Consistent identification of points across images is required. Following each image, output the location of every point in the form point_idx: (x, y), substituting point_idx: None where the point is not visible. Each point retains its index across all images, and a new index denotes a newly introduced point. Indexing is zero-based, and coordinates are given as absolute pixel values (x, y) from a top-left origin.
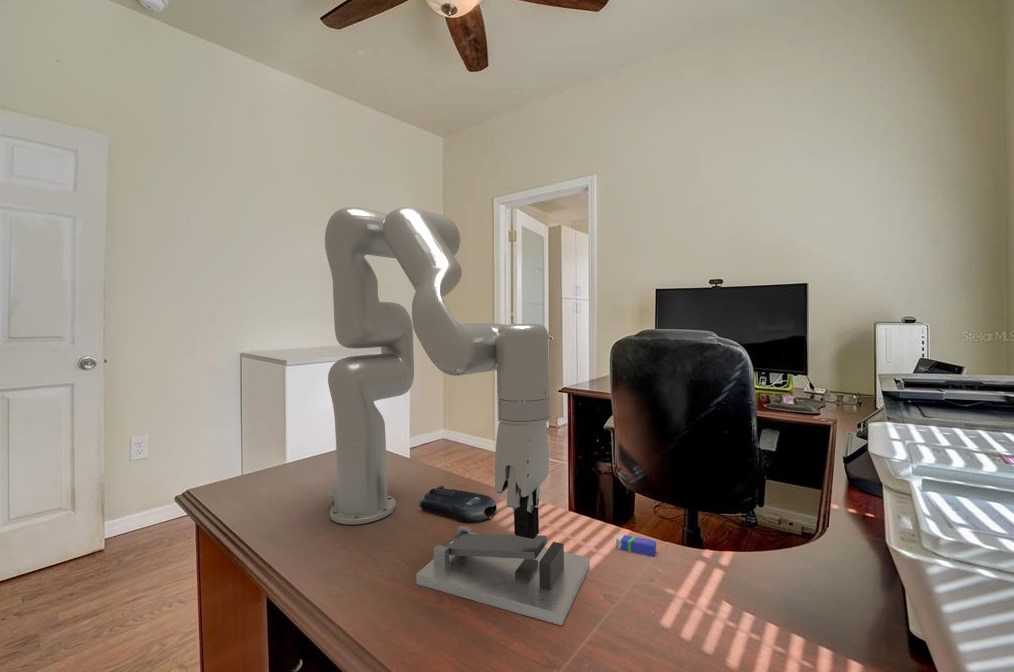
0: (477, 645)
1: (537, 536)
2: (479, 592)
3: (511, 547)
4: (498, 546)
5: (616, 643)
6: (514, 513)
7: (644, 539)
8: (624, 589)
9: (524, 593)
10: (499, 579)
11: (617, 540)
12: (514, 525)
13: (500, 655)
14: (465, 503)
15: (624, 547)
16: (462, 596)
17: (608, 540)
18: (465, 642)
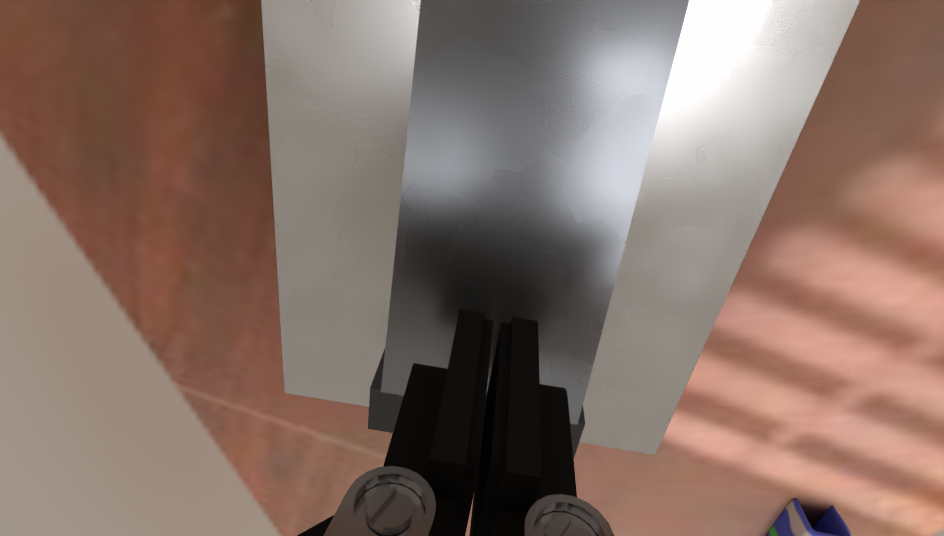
0: (81, 141)
1: (573, 378)
2: (268, 71)
3: (442, 250)
4: (459, 154)
5: (299, 475)
6: (438, 421)
7: None
8: None
9: (335, 270)
10: (392, 141)
11: (805, 532)
12: (454, 345)
13: (94, 226)
14: None
15: (784, 526)
16: None
17: (866, 478)
18: (65, 91)
